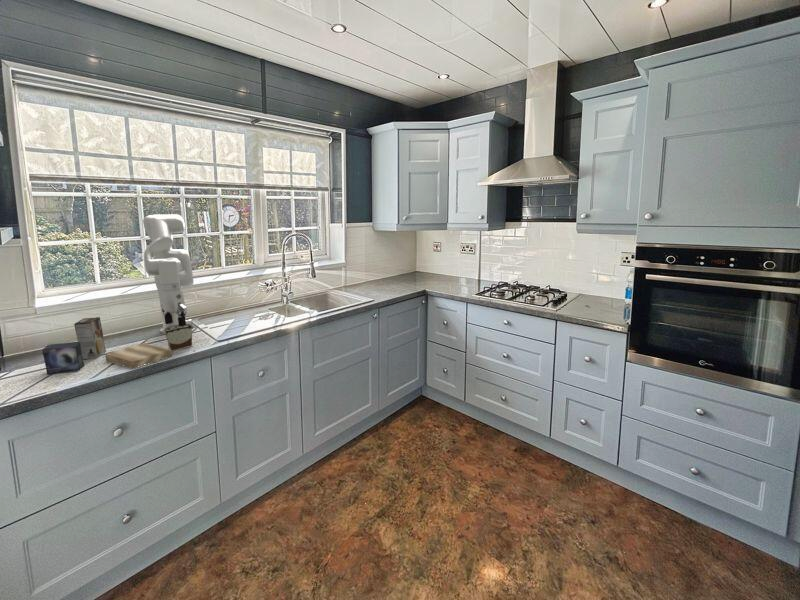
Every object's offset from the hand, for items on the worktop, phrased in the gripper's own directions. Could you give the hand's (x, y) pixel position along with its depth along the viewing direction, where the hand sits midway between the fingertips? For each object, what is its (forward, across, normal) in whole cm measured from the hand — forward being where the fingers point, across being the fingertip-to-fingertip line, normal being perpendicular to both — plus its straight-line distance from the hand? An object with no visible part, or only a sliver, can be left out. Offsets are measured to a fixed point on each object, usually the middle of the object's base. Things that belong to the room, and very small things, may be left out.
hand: (175, 324), depth 182 cm
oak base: (+11, +2, +16) cm, 20 cm away
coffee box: (+11, +24, +24) cm, 35 cm away
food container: (+11, +1, 0) cm, 11 cm away
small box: (+11, +15, +38) cm, 42 cm away
